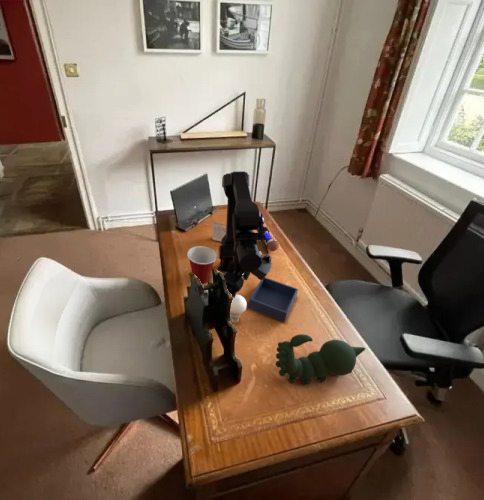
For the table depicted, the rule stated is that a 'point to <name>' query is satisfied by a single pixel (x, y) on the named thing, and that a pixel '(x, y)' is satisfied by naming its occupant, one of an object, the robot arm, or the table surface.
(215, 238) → the ink cartridge box
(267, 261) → the robot arm
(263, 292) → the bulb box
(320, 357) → the toy figurine
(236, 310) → the lightbulb
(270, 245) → the character figurine
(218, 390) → the table surface
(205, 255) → the plastic cup
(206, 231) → the table surface
